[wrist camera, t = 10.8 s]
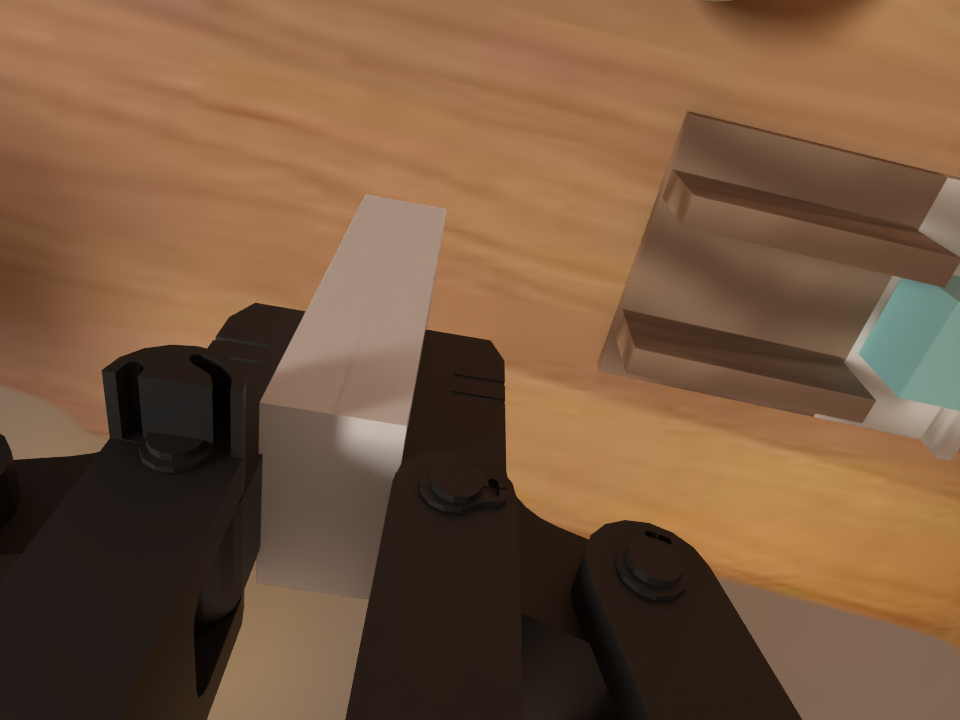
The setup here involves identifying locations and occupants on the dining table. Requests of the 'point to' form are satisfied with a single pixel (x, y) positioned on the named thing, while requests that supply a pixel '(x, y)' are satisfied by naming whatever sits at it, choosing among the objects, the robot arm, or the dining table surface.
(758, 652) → the robot arm
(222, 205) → the dining table surface
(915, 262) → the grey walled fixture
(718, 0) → the fruit
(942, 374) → the block
